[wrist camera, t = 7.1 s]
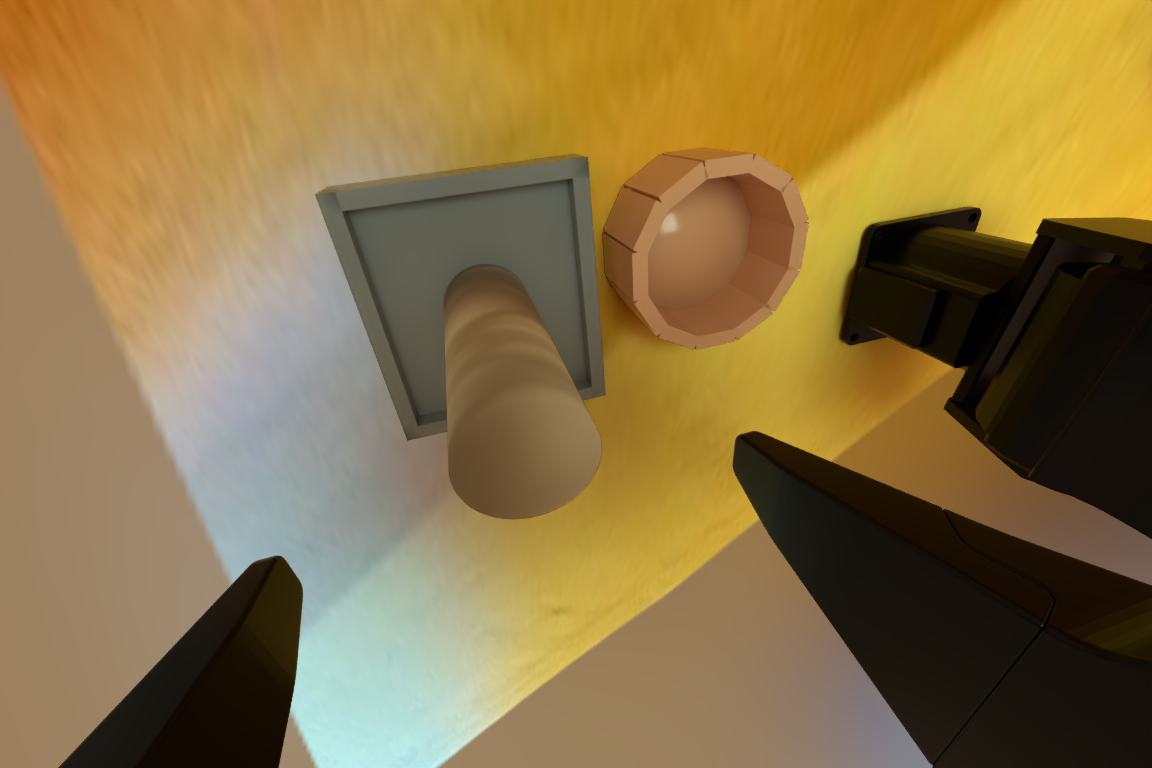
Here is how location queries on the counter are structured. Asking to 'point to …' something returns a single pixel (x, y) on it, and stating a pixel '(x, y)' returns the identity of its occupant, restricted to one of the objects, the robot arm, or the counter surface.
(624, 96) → the counter surface
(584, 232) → the tray
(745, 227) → the terracotta faceted bowl
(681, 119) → the counter surface
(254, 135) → the counter surface
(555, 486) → the pin
